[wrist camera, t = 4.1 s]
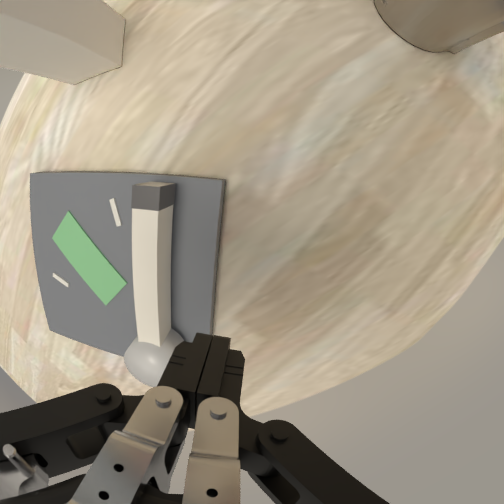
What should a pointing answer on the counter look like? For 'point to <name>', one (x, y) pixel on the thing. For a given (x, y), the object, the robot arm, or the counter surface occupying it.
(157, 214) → the tuning lever
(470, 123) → the counter surface
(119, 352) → the board
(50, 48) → the milk
